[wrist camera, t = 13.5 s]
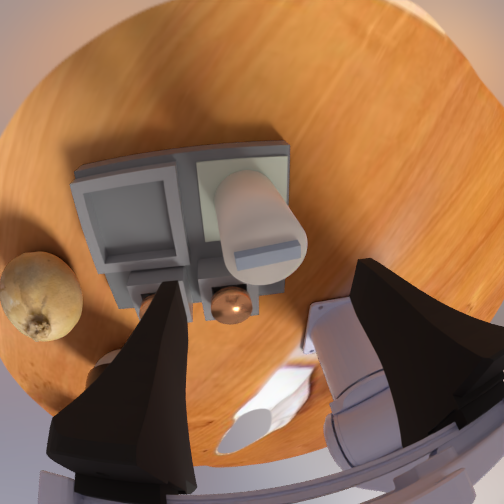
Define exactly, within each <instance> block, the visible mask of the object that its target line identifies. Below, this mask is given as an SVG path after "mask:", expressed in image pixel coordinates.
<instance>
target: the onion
mask: <svg viewBox="0 0 504 504" xmlns="http://www.w3.org/2000/svg"><path fill="white" fill-rule="evenodd" d="M0 301H1V305H2V308H3V310H4V312H5V314H6V316H7V317H8V319H9V320H10V322H11V323H12V324H13V325H14V326H15V327H16V328H17V329H18V330H19V331H20V332H21V333H23V334H24V335H26V336H28V337H30V338H32V339H33V340H34V341H36V342H39V341H52V340H56V339H59V338H62V337H64V336H65V335H67V334H68V333H69V332H70V331H71V330H72V329H73V327H74V326H75V325H76V323H77V322H78V321H79V319H80V316H81V312H82V306H83V296H82V291H81V287H80V284H79V282H78V280H77V278H76V276H75V273H74V272H73V270H72V269H71V268H70V267H69V266H68V265H67V264H66V263H65V262H64V261H62V259H60V258H59V257H57V256H55V255H53V254H50V253H49V252H42V251H38V252H30V253H23V254H21V255H20V256H18V257H15V258H14V259H12V260H11V261H10V262H9V263H8V264H7V266H6V267H5V269H4V271H3V273H2V276H1V279H0Z"/></svg>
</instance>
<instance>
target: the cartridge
mask: <svg viewBox="0 0 504 504" xmlns="http://www.w3.org/2000/svg"><path fill="white" fill-rule="evenodd" d="M214 204H215V211H216V217H217V223H218V229H219V234H220V240H221V246H222V252H223V257H224V262H225V265H226V267H227V269H228V271H229V272H230V273H231V274H232V275H233V276H234V277H235V278H236V279H238V280H240V281H242V282H244V283H247V284H252V285H267V284H272V283H275V282H278V281H281V280H283V279H285V278H286V277H288V276H289V275H291V274H292V273H293V272H294V271H295V270H296V269H297V268H298V267H299V266H300V264H301V263H302V261H303V259H304V258H305V255H306V252H307V244H308V243H307V236H306V233H305V231H304V229H303V228H302V226H301V225H300V223H299V222H298V220H297V219H296V217H295V216H294V214H293V213H292V211H291V210H290V208H289V207H288V205H287V204H286V202H285V201H284V199H283V198H282V196H281V195H280V194H279V192H278V191H277V189H276V188H275V186H274V185H273V183H272V182H271V181H270V179H269V178H268V177H266V176H265V175H264V174H262V173H260V172H257V171H253V170H241V171H237V172H234V173H232V174H230V175H229V176H227V177H226V178H225V179H224V180H223V181H222V182H221V183H220V184H219V186H218V187H217V190H216V192H215V197H214Z"/></svg>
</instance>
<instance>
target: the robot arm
mask: <svg viewBox="0 0 504 504" xmlns="http://www.w3.org/2000/svg"><path fill="white" fill-rule="evenodd" d="M319 306H320V307H319ZM187 353H188V324H187V315H186V311H185V307H184V303H183V299H182V295H181V291H180V287H179V282H178V280H175V281H164V282H162V283H161V284H160V286H159V288H158V290H157V292H156V294H155V295H154V297H153V299H152V301H151V303H150V305H149V306H148V308H147V310H146V312H145V313H144V315H143V317H142V318H141V320H140V322H139V323H138V325H137V327H136V328H135V330H134V331H133V333H132V334H131V336H130V337H129V339H128V340H127V342H126V343H125V345H124V346H123V347H122V349H121V350H120V351H119V353H118V354H117V355H116V357H115V358H114V359H113V360H112V362H111V363H110V364H109V365H108V366H107V368H106V369H105V370H104V371H103V372H102V373H101V375H100V376H99V377H98V378H97V379H96V380H95V381H94V382H93V383H92V384H91V385H90V386H89V387H88V388H87V389H86V390H85V391H84V392H83V393H82V394H81V395H80V396H79V397H77V398H76V399H75V400H74V401H73V402H72V403H70V404H69V405H68V406H67V407H65V408H64V409H63V410H62V411H60V412H59V413H58V414H57V415H55V416H54V417H53V418H52V421H51V425H50V430H49V437H48V443H47V450H46V454H47V455H48V457H49V458H50V459H52V460H53V461H55V462H56V463H58V464H60V465H62V466H63V467H65V468H67V469H69V470H71V471H73V472H75V480H74V479H71V478H68V477H65V476H61V475H58V474H54V473H50V472H47V471H44V470H42V471H40V479H39V492H38V504H292V503H297V502H301V501H306V500H310V499H314V498H317V497H321V496H325V495H329V494H332V493H336V492H339V491H342V490H345V489H348V488H351V487H357V488H362V489H368V490H375V491H382V492H386V494H383V495H381V496H378V497H376V498H373V499H371V500H368V501H365V502H363V503H360V504H472V503H473V501H474V500H475V497H476V494H475V491H474V488H473V485H475V484H476V483H477V482H478V481H479V480H480V479H481V478H482V477H483V476H484V475H485V474H486V473H487V472H488V471H490V470H491V469H492V467H494V466H495V464H496V463H497V462H498V461H499V460H500V459H501V458H502V457H503V456H504V382H503V379H504V372H503V370H504V327H502V326H498V325H494V324H491V323H488V322H485V321H482V320H479V319H476V318H474V317H471V316H469V315H466V314H464V313H462V312H459V311H457V310H455V309H453V308H451V307H449V306H447V305H445V304H443V303H441V302H439V301H438V300H436V299H434V298H432V297H431V296H429V295H427V294H426V293H424V292H423V291H421V290H419V289H418V288H416V287H415V286H413V285H412V284H410V283H409V282H407V281H406V280H404V279H403V278H401V277H400V276H398V275H397V274H395V273H394V272H392V271H391V270H389V269H388V268H386V267H385V266H383V265H382V264H380V263H378V262H377V261H375V260H373V259H372V258H366V259H358V262H357V266H356V271H355V275H354V279H353V283H352V288H351V292H350V296H349V297H345V298H339V299H333V300H327V301H321V302H315V303H312V304H311V305H310V309H309V315H308V321H307V328H306V334H305V339H304V345H303V353H304V354H311V353H316V354H317V356H318V359H319V362H320V364H321V367H322V370H323V372H324V375H325V378H326V381H327V383H328V386H329V389H330V392H331V394H332V397H333V400H334V401H333V402H331V403H330V404H329V405H330V408H331V411H332V413H330V414H328V415H327V417H326V420H325V423H324V437H325V441H326V444H327V447H328V449H329V452H330V454H331V455H332V457H333V459H334V461H335V462H336V463H337V464H338V466H339V467H341V469H342V470H343V471H342V472H339V473H336V474H332V475H329V476H325V477H321V478H317V479H314V480H309V481H305V482H301V483H296V484H291V485H286V486H281V487H275V488H270V489H263V490H256V491H248V492H239V493H227V494H213V495H178V494H191V493H192V492H194V491H195V489H196V488H197V484H196V479H195V474H194V468H193V462H192V456H191V449H190V441H189V433H188V423H187V412H186V370H187Z"/></svg>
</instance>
